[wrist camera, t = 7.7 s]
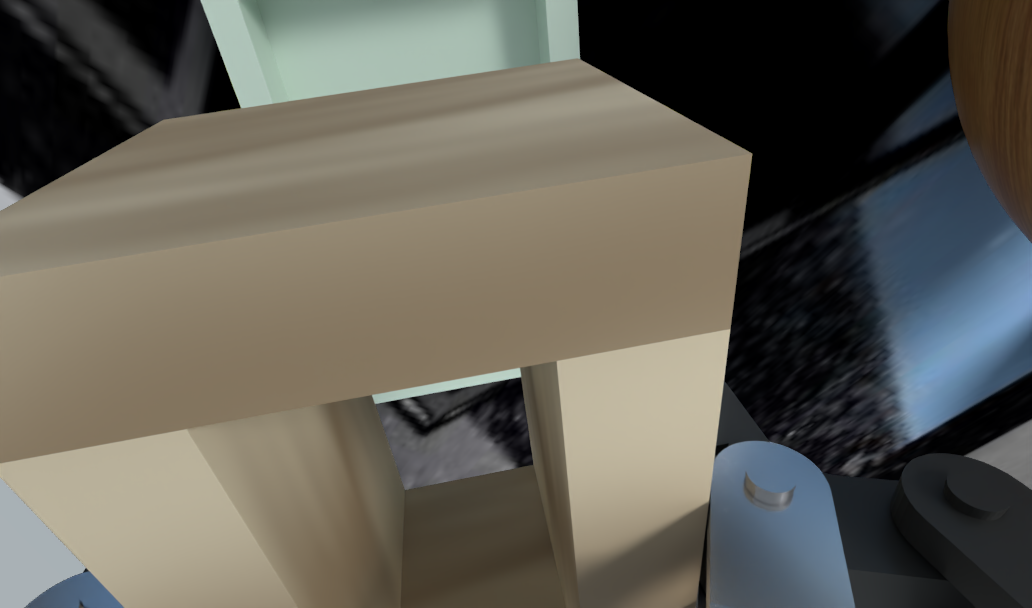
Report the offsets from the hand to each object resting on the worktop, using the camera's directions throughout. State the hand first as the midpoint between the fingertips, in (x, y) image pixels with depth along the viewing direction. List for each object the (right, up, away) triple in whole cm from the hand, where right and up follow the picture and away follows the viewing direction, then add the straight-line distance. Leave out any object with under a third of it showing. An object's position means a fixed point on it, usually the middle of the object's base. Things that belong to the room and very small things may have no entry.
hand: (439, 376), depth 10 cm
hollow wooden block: (0, 0, +1) cm, 1 cm away
